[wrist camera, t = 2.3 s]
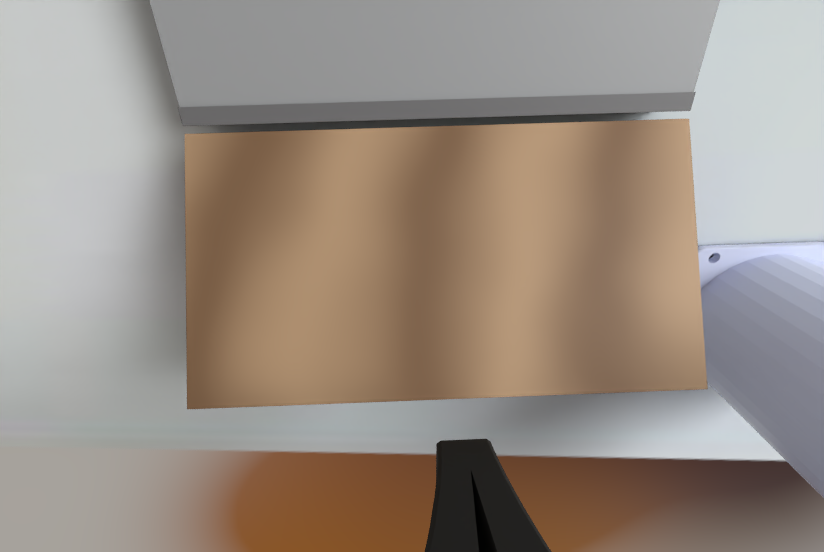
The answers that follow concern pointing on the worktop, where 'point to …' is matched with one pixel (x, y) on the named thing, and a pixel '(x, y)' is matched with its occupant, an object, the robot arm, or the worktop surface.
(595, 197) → the tan flat block
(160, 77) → the worktop surface
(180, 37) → the floor board
